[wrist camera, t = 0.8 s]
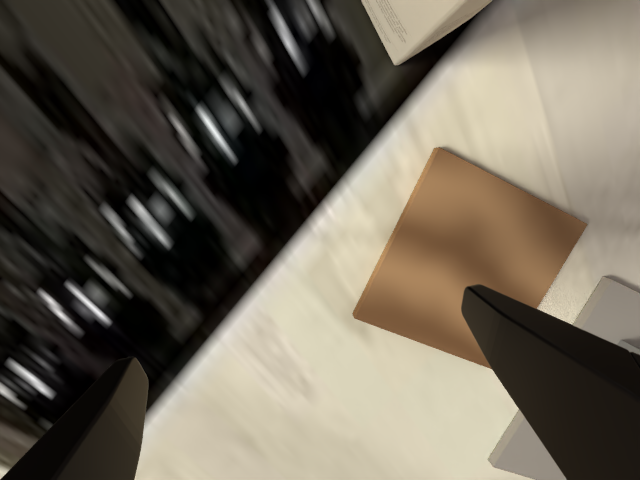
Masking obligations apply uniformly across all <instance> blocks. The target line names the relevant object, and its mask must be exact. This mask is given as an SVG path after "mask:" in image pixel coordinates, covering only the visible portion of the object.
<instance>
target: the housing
mask: <svg viewBox="0 0 640 480" xmlns="http://www.w3.org/2000/svg"><path fill="white" fill-rule="evenodd" d="M573 325H574V326H576V327H578V328H580V329H583V330H585V331H587V332H589V333H592V334H594V335H596V336H598V337H600V338H603V339H605V340H607V341H609V342H612V343H614V344H616V345H618V346H621V347H623V348H625V349H627V350H629V352H634V353H637V354H639V355H640V293H639V292H637V291H634V290H632V289H630V288H628V287H626V286H624V285H622V284H620V283H618V282H616V281H614V280H611V279H609V278H606V277H603V278H602V279H601V281H600V282H599V284H598V286H597V287H596V289H595V290H594V292H593V294H592V295H591V297H590V298H589V300H588V301H587V303H586V305H585V306H584V308H583V309H582V311H581V313H580V314H579V316H578V317H577V319H576V320H575V322H574V324H573ZM488 461H489V462H490V463H491V465H492V466H493V467H495V468H498V469H501V470H505V471H508V472H512V473H515V474H518V475H522V476H525V477H529V478H532V479H535V480H567V479H566V478H565V476H564V475H563V473H562V472H561V470H560V469H559V467H558V466H557V464H556V463H555V461H554V460H553V458H552V457H551V456H550V454H549V453H548V451H547V450H546V448H545V447H544V445H543V444H542V442H541V441H540V439H539V438H538V436H537V435H536V433H535V432H534V430H533V429H532V427H531V426H530V424H529V423H528V421H527V420H526V419H525V417H524V416H523V414H522V413H521V411H520V410H519V411H518V412H517V414H516V416H515V417H514V419H513V420H512V422H511V423H510V425H509V427H508V428H507V430H506V431H505V433H504V435H503V436H502V438H501V439H500V441H499V442H498V444H497V446H496V447H495V449H494V450H493V452H492V454H491V455H490V457H489V458H488Z"/></svg>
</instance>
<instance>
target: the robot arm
mask: <svg viewBox="0 0 640 480" xmlns="http://www.w3.org/2000/svg"><path fill="white" fill-rule="evenodd" d="M461 312H462V315H463V317H464V319H465V321H466V323H467V325H468V327H469V329H470V330H471V332H472V334H473V336H474V338H475V340H476V342H477V343H478V345H479V347H480V349H481V351H482V353H483V355H484V356H485V358H486V360H487V362H488V363H489V365H490V366H491V368H492V370H493V371H494V373H495V374H496V376H497V377H498V379H499V380H500V381H501V383H502V384H503V386H504V387H505V389H506V390H507V392H508V393H509V395H510V396H511V398H512V399H513V401H514V402H515V404H516V405H517V407H518V408H519V410H520V411H521V413H522V414H523V416H524V417H525V419H526V420H527V421H528V423H529V424H530V426H531V427H532V429H533V430H534V432H535V433H536V435H537V436H538V438H539V439H540V441H541V442H542V444H543V445H544V447H545V448H546V450H547V451H548V453H549V454H550V456H551V457H552V458H553V460H554V461H555V463H556V464H557V466H558V467H559V469H560V470H561V472H562V473H563V475H564V476H565V478H566V479H567V480H640V355H639V354H637V353H634V352H629V350H627V349H625V348H623V347H621V346H618V345H616V344H614V343H612V342H609V341H607V340H605V339H603V338H600V337H598V336H596V335H594V334H592V333H589V332H587V331H585V330H583V329H580V328H578V327H576V326H574V325H571V324H569V323H567V322H565V321H562V320H560V319H558V318H556V317H553V316H551V315H549V314H547V313H544V312H542V311H540V310H538V309H536V308H533V307H531V306H529V305H527V304H524V303H522V302H520V301H518V300H515V299H513V298H511V297H509V296H506V295H504V294H502V293H500V292H497V291H495V290H493V289H491V288H488V287H486V286H484V285H481V284H475V285H471V286H467V287H466V288H465V289H464V293H463V299H462V305H461ZM147 393H148V378H147V375H146V374H145V372H144V370H143V368H142V367H141V365H140V363H139V362H138V360H137V359H136V358H135V357H128V358H123V359H119V360H117V361H115V362H114V363H113V364H112V365H111V366H110V367H109V368H108V369H107V370H106V371H105V372H104V373H103V374H102V375H101V376H100V377H99V378H98V379H97V380H96V381H95V382H94V384H93V385H92V386H91V387H90V388H89V389H88V390H87V391H86V392H85V393H84V394H83V395H82V396H81V397H80V398H79V399H78V400H77V401H76V402H75V403H74V404H73V405H72V406H71V407H70V408H69V409H68V410H67V411H66V412H65V413H64V414H63V416H62V417H61V418H60V419H59V420H58V421H57V422H56V423H55V424H54V425H53V426H52V427H51V428H50V429H49V430H48V431H47V432H46V433H45V434H44V435H43V436H42V437H41V438H40V439H39V440H38V441H37V442H36V443H35V444H34V445H33V446H32V448H31V449H30V450H29V451H28V452H27V453H26V454H25V455H24V456H23V457H22V458H21V459H20V460H19V461H18V462H17V463H16V464H15V465H14V466H13V467H12V468H11V469H10V470H9V471H8V472H7V473H6V474H5V475H4V476H3V477H2V478H1V480H134V479H135V474H136V470H137V465H138V461H139V456H140V451H141V445H142V438H143V429H144V420H145V411H146V402H147Z"/></svg>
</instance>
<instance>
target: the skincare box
mask: <svg viewBox="0 0 640 480" xmlns="http://www.w3.org/2000/svg"><path fill="white" fill-rule="evenodd" d="M361 1H362V3H363V5H364V7H365V9H366V11H367V13H368V15H369V17H370V19H371V21H372V23H373V25H374V27H375V29H376V31H377V33H378V35H379V37H380V39H381V40H382V42H383V44H384V46H385V48H386V50H387V52H388V54H389V56H390V58H391V60H392V62H393V63H394V65H400V64H401V63H403V62H405V61H406V60H408V59H409V58H411V57H412V56H414V55H416V54H417V53H419V52H420V51H422V50H424V49H425V48H427V47H428V46H430V45H431V44H433V43H434V42H436V41H438V40H439V39H441V38H442V37H444V36H445V35H447V34H448V33H450V32H451V31H453V30H454V29H456V28H457V27H459V26H460V25H462V24H463V23H464V22H466V21H467V20H469V19H470V18H472V17H473V16H474V15H475V14H477V13H478V12H479V11H480V10H482V9H483V8H484V7H485V6H487V5H488V4H489V3H490V2H491V1H493V0H361Z"/></svg>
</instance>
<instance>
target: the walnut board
mask: <svg viewBox="0 0 640 480" xmlns="http://www.w3.org/2000/svg"><path fill="white" fill-rule="evenodd" d="M586 226H587V224H586V223H584V222H582V221H580V220H578V219H577V218H575V217H573V216H571V215H569V214H567V213H565V212H563V211H561V210H559V209H557V208H555V207H553V206H551V205H550V204H548V203H546V202H544V201H542V200H540V199H538V198H536V197H534V196H532V195H530V194H528V193H526V192H525V191H523V190H521V189H519V188H517V187H515V186H513V185H511V184H509V183H507V182H505V181H503V180H501V179H499V178H498V177H496V176H494V175H492V174H490V173H488V172H486V171H484V170H482V169H480V168H478V167H476V166H474V165H472V164H471V163H469V162H467V161H465V160H463V159H461V158H459V157H457V156H455V155H453V154H451V153H449V152H447V151H445V150H444V149H442V148H434V150H433V152H432V154H431V156H430V158H429V160H428V162H427V164H426V166H425V168H424V170H423V172H422V174H421V176H420V178H419V180H418V182H417V184H416V186H415V188H414V190H413V192H412V194H411V196H410V198H409V201H408V203H407V205H406V207H405V209H404V211H403V213H402V215H401V217H400V219H399V221H398V223H397V225H396V227H395V229H394V231H393V233H392V235H391V237H390V239H389V241H388V243H387V245H386V247H385V249H384V251H383V253H382V255H381V257H380V259H379V261H378V263H377V265H376V267H375V269H374V271H373V273H372V275H371V277H370V279H369V281H368V283H367V285H366V287H365V289H364V291H363V293H362V295H361V297H360V299H359V301H358V304H357V306H356V308H355V310H354V312H353V316H354V318H355V319H358V320H360V321H363V322H366V323H369V324H371V325H374V326H377V327H379V328H382V329H385V330H387V331H390V332H393V333H396V334H398V335H401V336H404V337H406V338H409V339H412V340H415V341H417V342H420V343H423V344H425V345H428V346H431V347H433V348H436V349H439V350H442V351H444V352H447V353H450V354H452V355H455V356H458V357H460V358H463V359H466V360H469V361H471V362H474V363H477V364H479V365H482V366H485V367H488V368H490V369H492V368H491V366H490V365H489V363H488V362H487V360H486V358H485V356H484V355H483V353H482V351H481V349H480V347H479V345H478V343H477V342H476V340H475V338H474V336H473V334H472V332H471V330H470V329H469V327H468V325H467V323H466V321H465V319H464V317H463V315H462V312H461V305H462V299H463V293H464V289H465V288H466V287H467V286H471V285H475V284H481V285H484V286H486V287H488V288H491V289H493V290H495V291H497V292H500V293H502V294H504V295H506V296H509V297H511V298H513V299H515V300H518V301H520V302H522V303H524V304H527V305H529V306H531V307H533V308H536V309H537V307H538V305H539V304H540V302H541V301H542V299H543V297H544V296H545V294H546V292H547V291H548V289H549V287H550V286H551V284H552V282H553V281H554V279H555V277H556V276H557V274H558V272H559V271H560V269H561V267H562V266H563V264H564V262H565V261H566V259H567V257H568V256H569V254H570V252H571V251H572V249H573V248H574V246H575V244H576V243H577V241H578V239H579V238H580V236H581V234H582V233H583V231H584V229H585V228H586Z"/></svg>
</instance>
